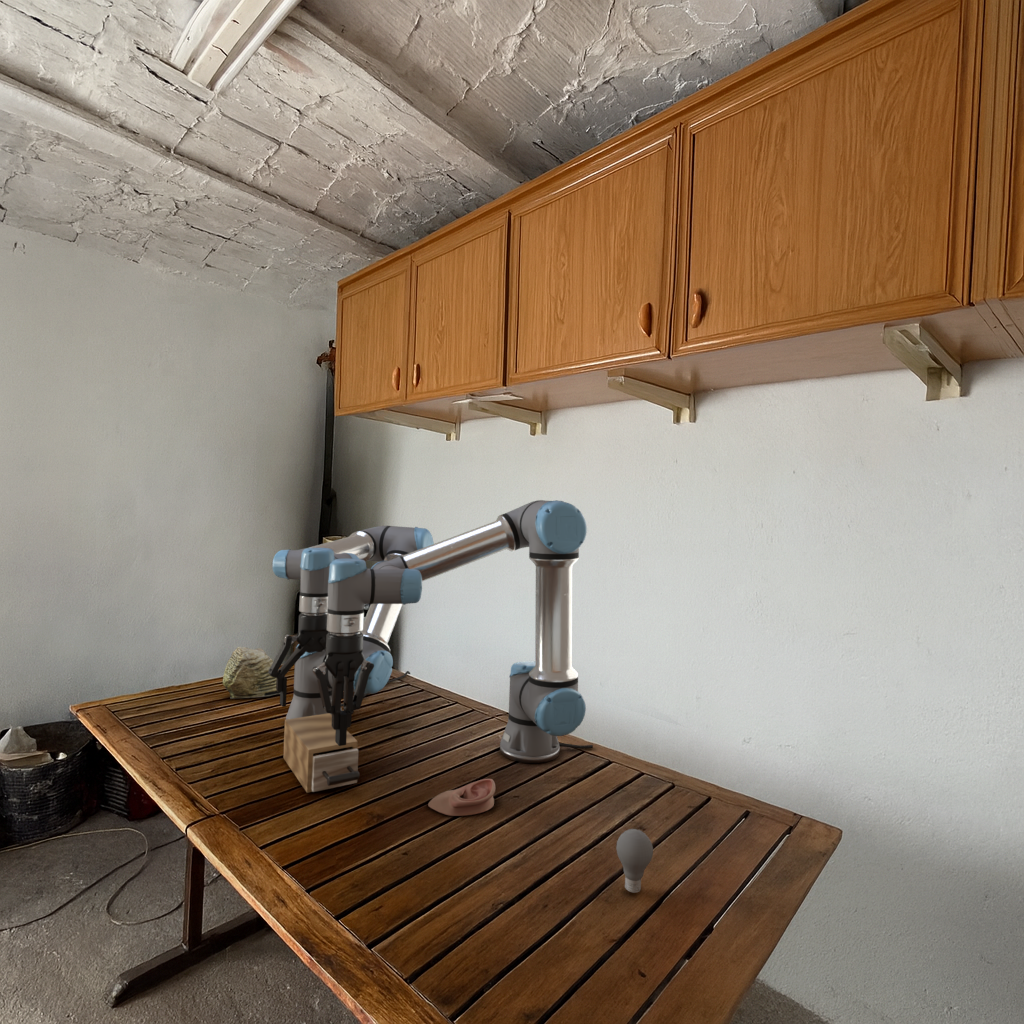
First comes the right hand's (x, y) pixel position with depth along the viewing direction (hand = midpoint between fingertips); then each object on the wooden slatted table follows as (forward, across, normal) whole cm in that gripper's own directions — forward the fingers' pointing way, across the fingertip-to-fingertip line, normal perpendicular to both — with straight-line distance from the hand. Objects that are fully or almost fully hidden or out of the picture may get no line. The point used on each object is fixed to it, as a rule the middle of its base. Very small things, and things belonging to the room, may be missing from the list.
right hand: (340, 743), depth 134 cm
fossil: (+11, -2, +78) cm, 78 cm away
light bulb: (+11, +32, -55) cm, 65 cm away
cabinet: (+11, 0, +15) cm, 19 cm away
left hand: (-3, 0, +22) cm, 22 cm away
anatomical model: (+11, +21, -15) cm, 29 cm away
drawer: (+10, 0, +9) cm, 14 cm away
